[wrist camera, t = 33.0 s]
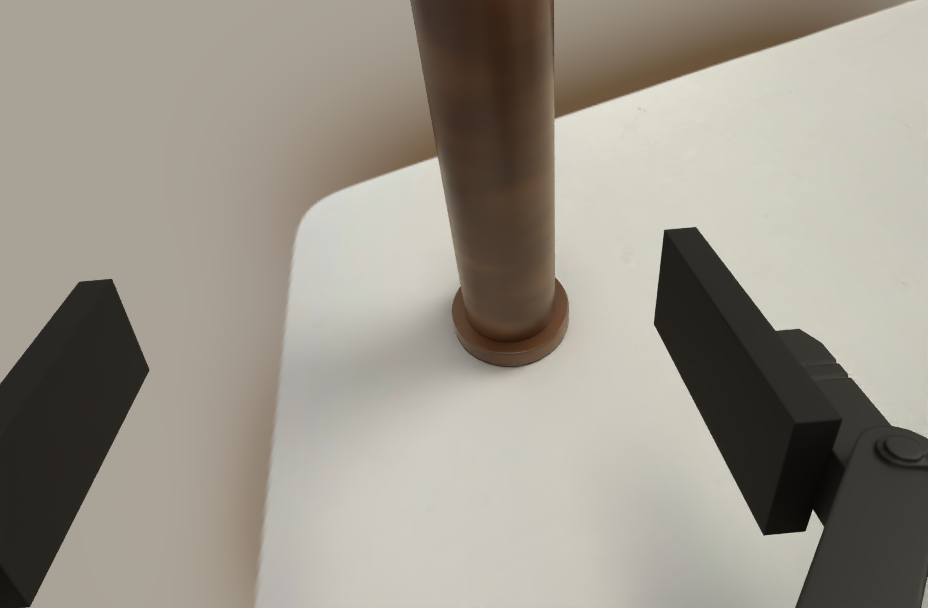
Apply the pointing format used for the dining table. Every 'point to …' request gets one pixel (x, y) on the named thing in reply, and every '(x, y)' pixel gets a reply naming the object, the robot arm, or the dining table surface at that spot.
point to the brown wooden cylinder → (497, 169)
